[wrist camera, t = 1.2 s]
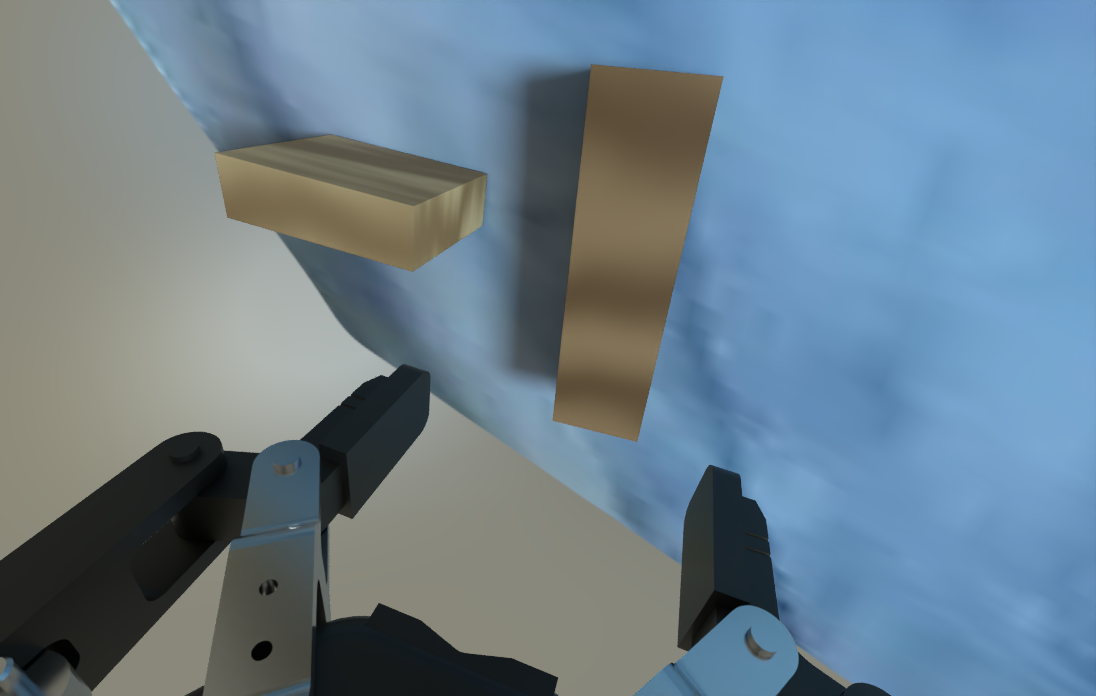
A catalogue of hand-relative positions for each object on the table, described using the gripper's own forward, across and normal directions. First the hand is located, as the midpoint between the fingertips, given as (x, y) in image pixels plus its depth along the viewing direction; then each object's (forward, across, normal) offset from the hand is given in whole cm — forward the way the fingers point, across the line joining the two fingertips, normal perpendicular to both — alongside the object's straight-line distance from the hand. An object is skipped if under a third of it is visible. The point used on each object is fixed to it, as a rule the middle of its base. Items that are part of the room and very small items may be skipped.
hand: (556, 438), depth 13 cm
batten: (+16, 0, 0) cm, 16 cm away
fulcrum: (+16, +14, -1) cm, 21 cm away
